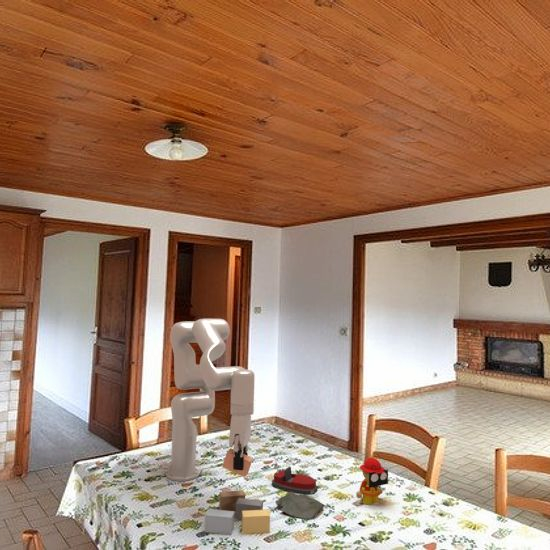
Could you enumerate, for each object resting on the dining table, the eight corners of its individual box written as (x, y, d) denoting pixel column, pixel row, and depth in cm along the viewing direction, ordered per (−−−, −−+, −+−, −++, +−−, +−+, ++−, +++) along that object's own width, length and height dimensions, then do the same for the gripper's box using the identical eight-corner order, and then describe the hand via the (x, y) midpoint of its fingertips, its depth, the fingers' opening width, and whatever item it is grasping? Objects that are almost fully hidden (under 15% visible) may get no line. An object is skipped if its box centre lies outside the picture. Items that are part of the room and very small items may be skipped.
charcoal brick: (235, 519, 140) (235, 503, 140) (238, 514, 144) (238, 498, 144) (260, 522, 139) (260, 506, 139) (262, 516, 143) (263, 500, 143)
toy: (366, 510, 149) (367, 464, 150) (350, 499, 157) (351, 456, 158) (392, 504, 154) (393, 460, 155) (375, 494, 162) (376, 452, 163)
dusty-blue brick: (204, 532, 132) (205, 515, 132) (208, 525, 136) (208, 509, 136) (230, 535, 131) (231, 517, 131) (233, 528, 135) (234, 511, 135)
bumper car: (310, 498, 158) (311, 469, 159) (261, 485, 167) (262, 458, 168) (320, 488, 167) (321, 460, 168) (273, 477, 176) (274, 451, 177)
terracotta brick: (222, 466, 141) (227, 452, 142) (225, 462, 145) (230, 448, 145) (245, 477, 140) (250, 461, 140) (248, 472, 144) (253, 457, 144)
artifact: (269, 512, 147) (310, 525, 139) (269, 500, 147) (310, 512, 139) (290, 496, 159) (328, 507, 151) (290, 485, 159) (328, 495, 151)
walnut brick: (220, 512, 145) (221, 496, 145) (219, 507, 148) (219, 491, 149) (244, 510, 147) (245, 495, 147) (242, 505, 150) (243, 490, 151)
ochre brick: (242, 534, 131) (243, 516, 132) (241, 527, 135) (242, 510, 136) (269, 533, 133) (270, 515, 133) (267, 526, 137) (268, 509, 137)
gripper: (237, 402, 153) (236, 457, 151) (223, 413, 136) (220, 475, 135) (259, 404, 151) (257, 459, 150) (246, 415, 135) (244, 477, 133)
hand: (240, 466), depth 142 cm, fingers closed on terracotta brick, 4 cm apart
